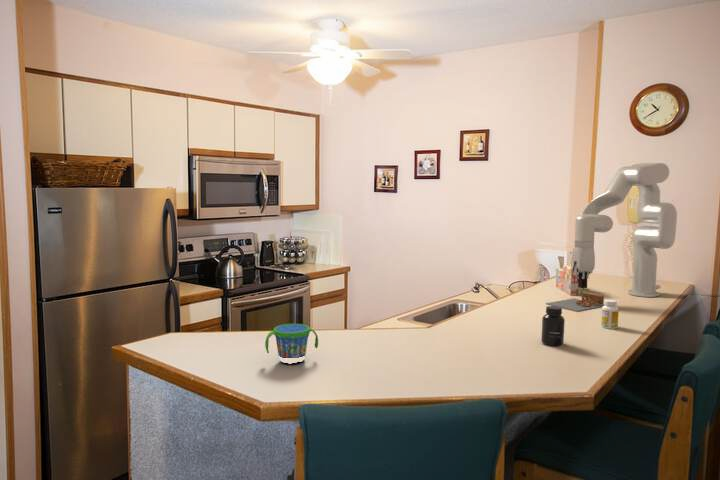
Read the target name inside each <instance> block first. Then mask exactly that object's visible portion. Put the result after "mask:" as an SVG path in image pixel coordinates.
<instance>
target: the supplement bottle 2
mask: <svg viewBox="0 0 720 480" xmlns="http://www.w3.org/2000/svg"><path fill="white" fill-rule="evenodd" d="M603 305H605V306H603V307H601V323H600V324H601V327H602V328H604V329H609V330H615V329H618V327H619V313H620V312H619V307H618V306H617V305H618V301H617V300H614V299H604V303H603Z"/></svg>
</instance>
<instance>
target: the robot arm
mask: <svg viewBox="0 0 720 480" xmlns="http://www.w3.org/2000/svg"><path fill="white" fill-rule="evenodd" d="M669 176H670V168H669V166H668V165H667V164H666V163H665V162H651V163H649V162H643V163H642V162H639V163H635V164H631V165H630V166H629V165H628V166H627V165H626V166H622V167H620V168H619V169H617V171H616V172H615V174H614V176H613V177H612V179H611V181H610V182H609V183H608V185H607V187H606V189H605V190H604V191H603V192H602V193H601V194H600V195H597V196H596V197H595V198H593V199H592V200H590V202H589V203H587V204H586V205H585V207H584V208H583V210H582V211H581V213H580V215H577V216H576V218H575V225H574V227H575V230H574V247H573V250H572V254H571V260H570V266H571V270H572V271H574V273H573V274H574V275H577V277H578V287H579V288H584V289H587V288H588V279H589V276H590V275H591V274H592V273H593V272H594V270H595V265H596V255H595V253H596V252H595V248H594V247H595V233H608V232H609V231H610V230H612V229H613V227H614V226H613V225H614V221H613V219H612V218H611V216H609V215H607V214H606V215H605V214H600V212H603V211H605V210H607V209H610V208H612V207H614V206H616V207H617V206H618V205H620V204H622V203H623V202H624V200H625V199H626V197H627V196H628V194H629V193H630V191H631V189H632V188H633V187H635V186H636V188H637V189H638V190H637V191H638V203H637V204H638V205H637V219H638V220H639V221H640V222H642V223H645V224H657V225H658V226H653V225H652V226H651V225H641V226H640V225H639V226H637V227H635V228H634V229H633V231H632V234H631V237H632V238H631V239H632V244H633V263H632V264H633V265H632V286H631V287H632V288H631V289H628V291H627V292H628V294H629V295H632V296H635V297H642V298H657V297H659V296H660V292H658V291H657V290H659V289H660V288H661V285H660V284H657V269H658V256H657V255H658V254H657V251H656V250H655V249H662V250H667V249H671V248H672V246H674V243H675V241H676V235H677V232H676V231H677V221H678V220H677V219H678V211H677V208H676V207H675V205H674V204H673V203H670V202H662V201H661V189H660V187H659V185H658V184H661V183H664V182H666V180H668V178H669ZM581 273H582V274H581Z"/></svg>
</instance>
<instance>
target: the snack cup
mask: <svg viewBox="0 0 720 480" xmlns="http://www.w3.org/2000/svg"><path fill="white" fill-rule="evenodd" d="M310 332H312V333H313V335H315V339H314V348H315V349H318V347H319V337H318V334H317V332H316V331H315V330H314V329H312V327H310V326H308V325H307V324H302V323H287V324H286V323H284V324H280V325H278V326H275V327H274V328H273V330H271V331H270V332H269V333H268V334H267V336H266V339H265V341H264V346H265V349H266V352H267V354H269V353H270V351H269V343H270V342H269V339H270V338H271V337H272V336H273V335H274V337H275V341H276V349H277V354H278V357H279V356H280V357H282V358H299V357H303V356H305V355H307V349H308V348H307V347H308V339H309V336H310ZM305 357H306V356H305Z"/></svg>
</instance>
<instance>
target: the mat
mask: <svg viewBox="0 0 720 480" xmlns="http://www.w3.org/2000/svg"><path fill="white" fill-rule="evenodd" d="M576 301H582V299H577V298H568V299H567V298H566V299H563V300H562V299H561V300H557V301H549V302H545V305H547V306H557V307H561V308H562V310H563V309H564V310H568V311H572V312H576V313H579V312H583V311H588V310H594V309H599V308H602V307H603V306H605V304H598V305H589V307H582V306H580V304H576ZM585 302H587V301H585ZM589 303H590V304H591V302H589ZM578 311H579V312H578Z"/></svg>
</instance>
